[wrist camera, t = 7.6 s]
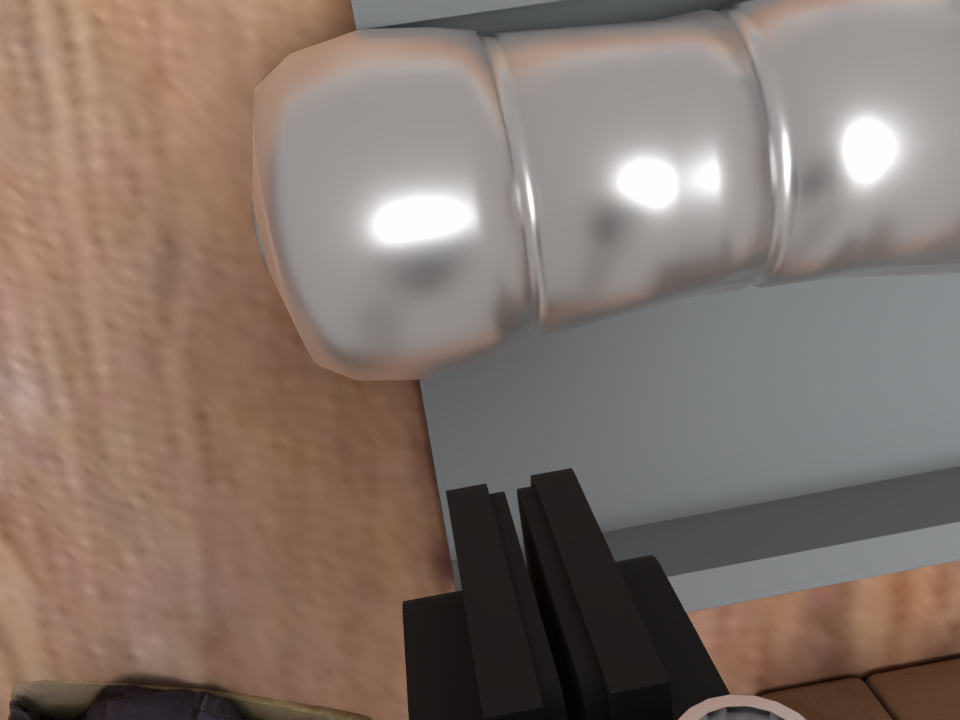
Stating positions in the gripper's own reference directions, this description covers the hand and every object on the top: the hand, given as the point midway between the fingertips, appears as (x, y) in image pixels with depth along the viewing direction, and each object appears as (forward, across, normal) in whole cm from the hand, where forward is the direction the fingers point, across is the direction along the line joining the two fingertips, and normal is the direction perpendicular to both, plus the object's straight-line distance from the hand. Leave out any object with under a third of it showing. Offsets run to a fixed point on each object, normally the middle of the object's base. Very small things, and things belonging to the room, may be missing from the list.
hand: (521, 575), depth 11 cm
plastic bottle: (+8, +4, -3) cm, 9 cm away
